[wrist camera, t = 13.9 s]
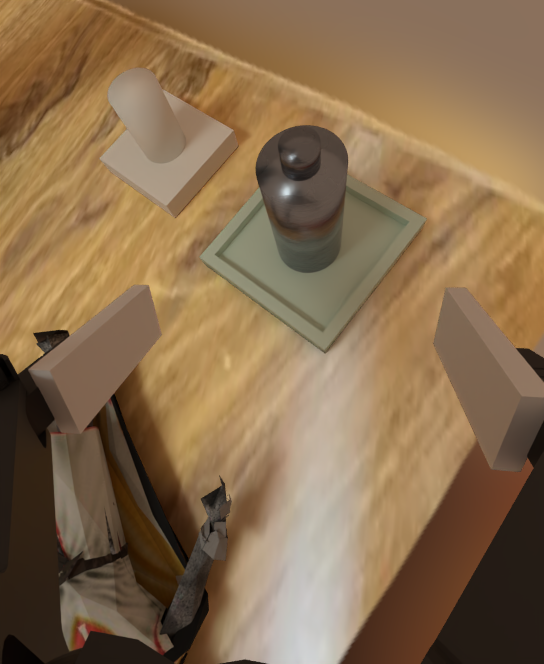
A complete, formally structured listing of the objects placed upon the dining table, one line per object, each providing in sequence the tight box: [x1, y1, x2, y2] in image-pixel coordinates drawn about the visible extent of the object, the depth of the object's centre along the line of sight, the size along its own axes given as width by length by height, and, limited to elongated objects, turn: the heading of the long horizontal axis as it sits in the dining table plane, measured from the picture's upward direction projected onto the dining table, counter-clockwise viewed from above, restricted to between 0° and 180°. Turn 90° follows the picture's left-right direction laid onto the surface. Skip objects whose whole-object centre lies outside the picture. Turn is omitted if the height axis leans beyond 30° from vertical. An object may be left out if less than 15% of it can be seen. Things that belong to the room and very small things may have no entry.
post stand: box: [99, 68, 238, 218], centre depth 32 cm, size 10×10×8 cm
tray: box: [200, 174, 427, 353], centre depth 30 cm, size 14×14×2 cm
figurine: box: [33, 330, 231, 664], centre depth 25 cm, size 23×8×30 cm
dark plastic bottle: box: [256, 125, 348, 273], centre depth 25 cm, size 6×6×12 cm
